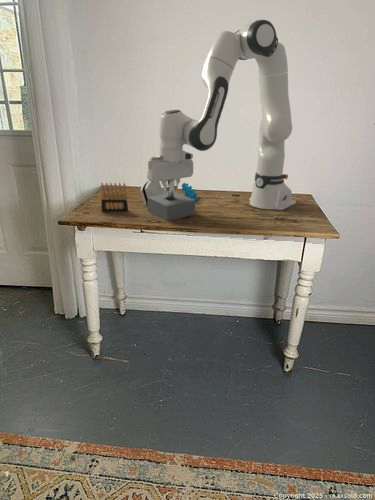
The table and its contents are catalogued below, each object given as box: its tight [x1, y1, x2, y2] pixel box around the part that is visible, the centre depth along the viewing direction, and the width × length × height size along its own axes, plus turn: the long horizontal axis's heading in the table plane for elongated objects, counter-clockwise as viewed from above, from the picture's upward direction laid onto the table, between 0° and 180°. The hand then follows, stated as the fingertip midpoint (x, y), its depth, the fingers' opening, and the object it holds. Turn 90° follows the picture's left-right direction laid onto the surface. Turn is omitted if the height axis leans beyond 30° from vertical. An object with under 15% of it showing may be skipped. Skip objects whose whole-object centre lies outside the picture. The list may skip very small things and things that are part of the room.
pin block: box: [147, 191, 196, 222], centre depth 142 cm, size 14×14×6 cm
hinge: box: [139, 180, 167, 206], centre depth 158 cm, size 17×5×10 cm, turn 164°
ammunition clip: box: [100, 182, 129, 213], centre depth 141 cm, size 11×2×12 cm, turn 94°
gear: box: [181, 182, 199, 202], centre depth 161 cm, size 11×6×10 cm
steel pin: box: [166, 179, 176, 201], centre depth 139 cm, size 3×3×10 cm
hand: (170, 190), depth 139 cm, fingers closed on steel pin, 3 cm apart
